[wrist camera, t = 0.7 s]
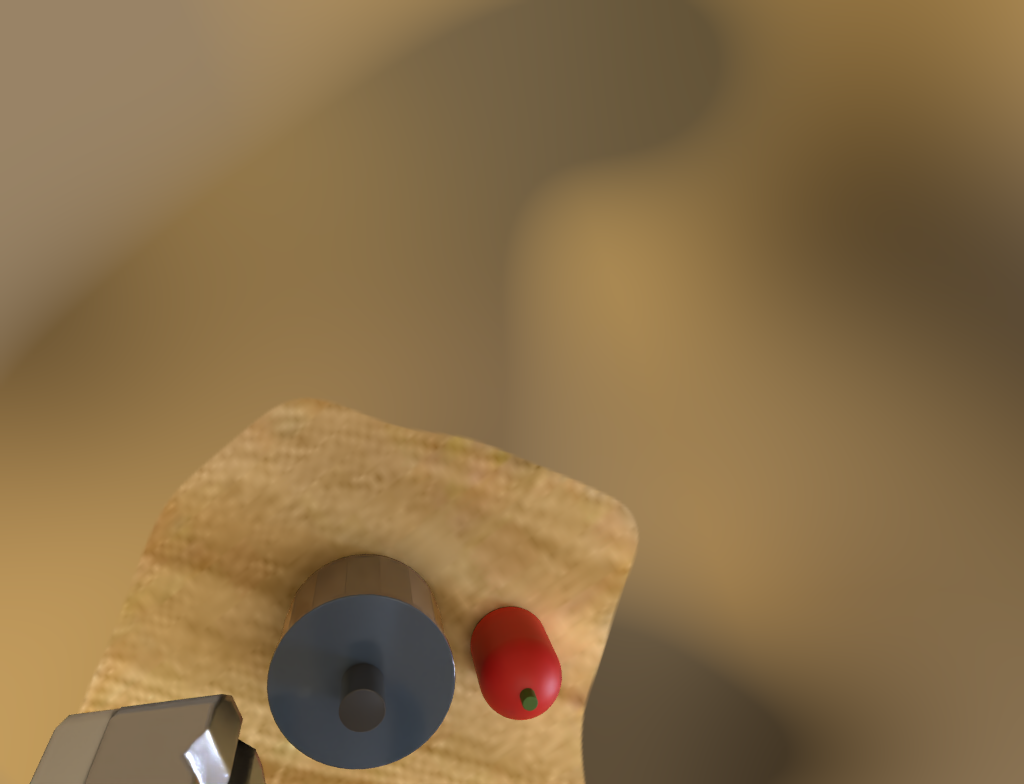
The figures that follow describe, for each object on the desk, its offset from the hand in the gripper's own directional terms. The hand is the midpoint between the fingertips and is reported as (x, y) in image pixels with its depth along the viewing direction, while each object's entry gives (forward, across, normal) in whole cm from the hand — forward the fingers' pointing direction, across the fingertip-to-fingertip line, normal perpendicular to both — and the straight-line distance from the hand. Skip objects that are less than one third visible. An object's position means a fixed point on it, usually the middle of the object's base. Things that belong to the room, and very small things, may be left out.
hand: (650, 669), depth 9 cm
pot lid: (+29, -11, -30) cm, 43 cm away
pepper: (+35, -3, -35) cm, 50 cm away
